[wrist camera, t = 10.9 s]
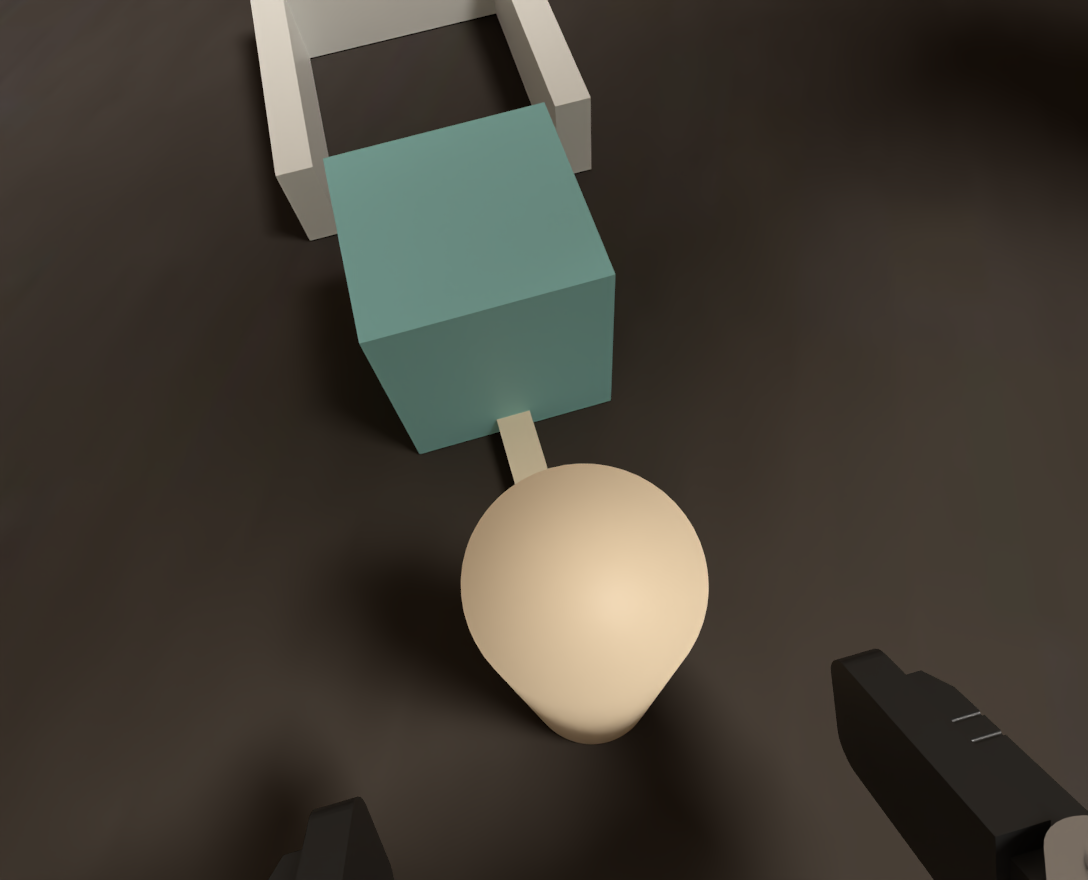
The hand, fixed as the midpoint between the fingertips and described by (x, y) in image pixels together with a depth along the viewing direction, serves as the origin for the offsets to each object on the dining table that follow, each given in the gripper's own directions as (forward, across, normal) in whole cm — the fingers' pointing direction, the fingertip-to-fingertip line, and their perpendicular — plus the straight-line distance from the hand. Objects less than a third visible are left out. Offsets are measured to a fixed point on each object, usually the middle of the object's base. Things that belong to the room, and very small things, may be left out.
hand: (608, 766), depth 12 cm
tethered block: (+10, 0, -1) cm, 10 cm away
